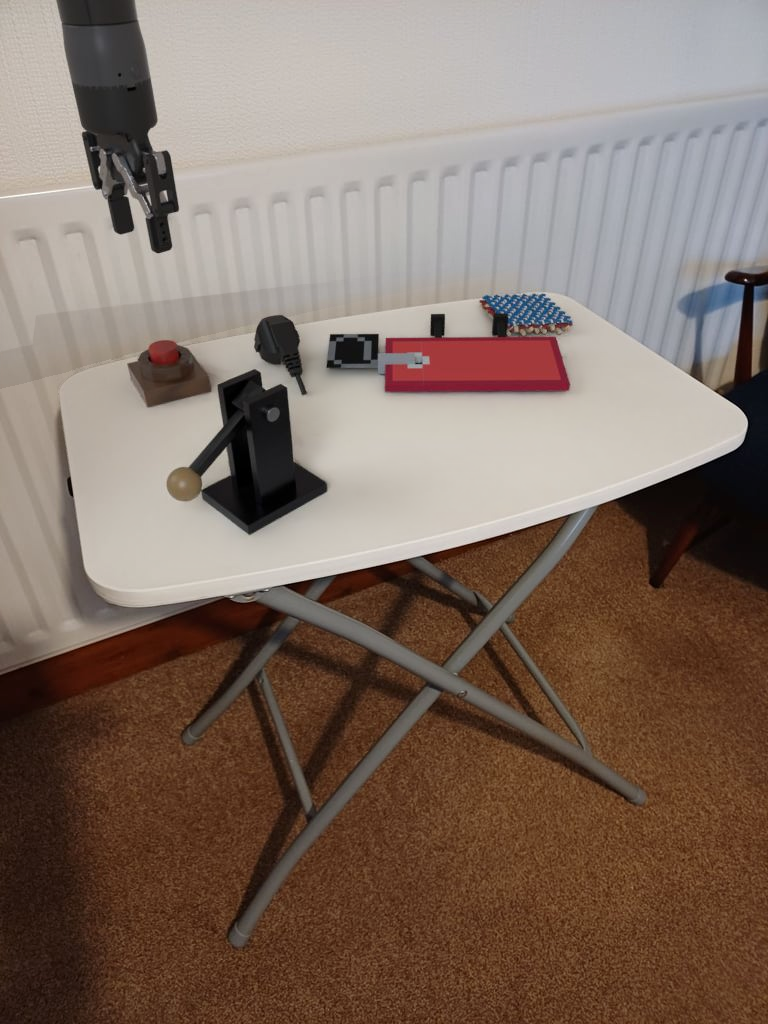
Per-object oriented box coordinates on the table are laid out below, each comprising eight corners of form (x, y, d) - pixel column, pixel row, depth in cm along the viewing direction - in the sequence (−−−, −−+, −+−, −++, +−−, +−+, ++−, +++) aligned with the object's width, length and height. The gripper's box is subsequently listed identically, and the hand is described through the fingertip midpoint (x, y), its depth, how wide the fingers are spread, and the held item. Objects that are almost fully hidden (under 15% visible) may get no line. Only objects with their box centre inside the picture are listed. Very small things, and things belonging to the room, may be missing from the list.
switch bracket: (249, 535, 76) (233, 422, 68) (202, 499, 80) (181, 389, 72) (327, 491, 81) (321, 382, 73) (279, 459, 86) (268, 353, 78)
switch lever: (192, 513, 72) (172, 497, 70) (173, 498, 74) (153, 481, 72) (282, 407, 74) (265, 387, 72) (261, 395, 76) (244, 375, 74)
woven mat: (475, 306, 114) (477, 293, 113) (541, 304, 117) (543, 291, 116) (503, 337, 106) (506, 323, 105) (573, 334, 109) (576, 320, 108)
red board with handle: (331, 333, 108) (324, 395, 97) (330, 314, 106) (322, 375, 95) (550, 331, 107) (568, 393, 96) (552, 313, 105) (571, 374, 94)
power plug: (283, 395, 94) (251, 310, 97) (275, 421, 101) (246, 341, 104) (326, 385, 96) (294, 301, 99) (316, 411, 103) (286, 333, 106)
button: (155, 368, 94) (152, 355, 93) (147, 356, 97) (145, 343, 96) (182, 361, 96) (180, 348, 94) (174, 350, 98) (172, 337, 97)
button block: (147, 407, 94) (140, 378, 92) (130, 378, 100) (123, 350, 97) (211, 391, 97) (206, 362, 95) (191, 364, 103) (186, 336, 100)
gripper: (41, 70, 79) (81, 233, 89) (112, 91, 71) (147, 268, 81) (108, 60, 83) (139, 218, 93) (183, 79, 75) (208, 249, 85)
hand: (143, 241), depth 87 cm, fingers open, 7 cm apart
